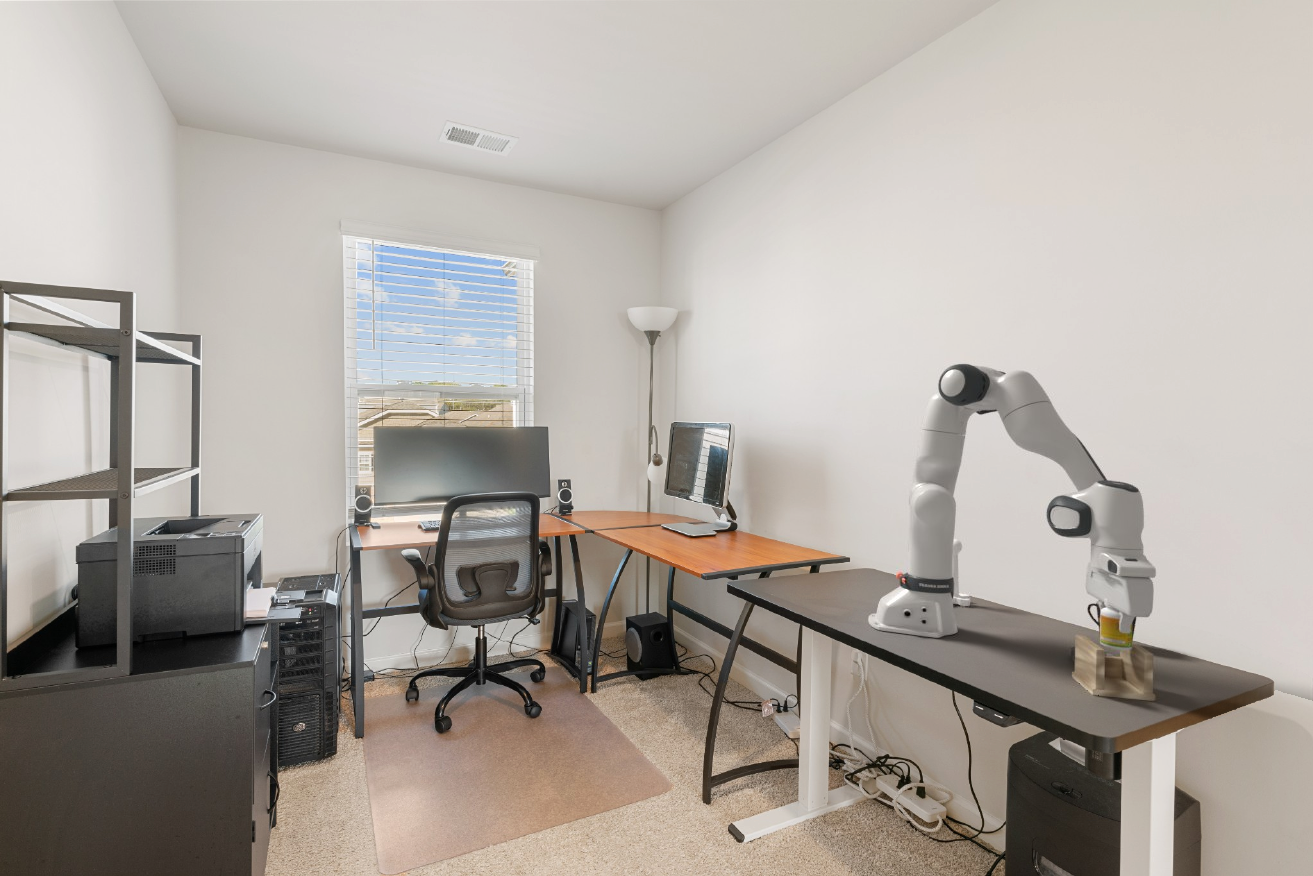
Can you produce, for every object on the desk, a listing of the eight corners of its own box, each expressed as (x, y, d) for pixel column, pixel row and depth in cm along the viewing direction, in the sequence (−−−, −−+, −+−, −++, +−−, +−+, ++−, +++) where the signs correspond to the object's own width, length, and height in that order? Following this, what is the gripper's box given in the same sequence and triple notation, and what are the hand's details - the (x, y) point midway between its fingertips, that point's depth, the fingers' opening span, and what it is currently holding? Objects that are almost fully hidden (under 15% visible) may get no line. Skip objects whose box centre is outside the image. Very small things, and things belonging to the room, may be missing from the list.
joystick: (956, 599, 206) (958, 536, 205) (979, 604, 199) (981, 540, 199) (935, 603, 200) (937, 539, 200) (958, 609, 193) (959, 542, 193)
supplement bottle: (1133, 652, 128) (1133, 604, 128) (1100, 648, 131) (1101, 600, 131) (1130, 645, 133) (1131, 598, 133) (1099, 641, 136) (1099, 595, 136)
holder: (1092, 695, 129) (1093, 649, 129) (1071, 677, 139) (1072, 634, 139) (1155, 701, 127) (1156, 654, 127) (1129, 682, 136) (1130, 639, 136)
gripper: (1077, 550, 143) (1076, 612, 143) (1123, 569, 123) (1122, 641, 123) (1109, 552, 142) (1108, 614, 142) (1161, 570, 122) (1160, 643, 122)
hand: (1115, 627), depth 132 cm, fingers closed on supplement bottle, 5 cm apart
